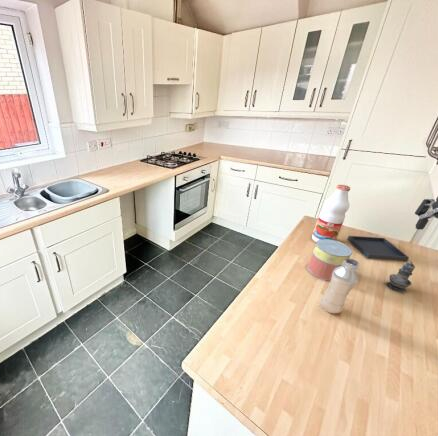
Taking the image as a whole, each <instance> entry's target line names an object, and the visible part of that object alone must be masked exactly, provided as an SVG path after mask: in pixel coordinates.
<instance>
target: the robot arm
mask: <svg viewBox="0 0 438 436" xmlns="http://www.w3.org/2000/svg"><path fill="white" fill-rule="evenodd" d="M430 208H432V210H429V209H430ZM414 215H416V216H418V218H419V219H418V220H417V222H416V223H415V229H416V230H424V229H425V227H426V225H428V222H429V219H433V218H435V219H438V196H436V198H435V199H434V198H424V199H423V200H422V201H421V203H420V204H419V206H418V207H417V209H416V210H415V212H414Z"/></svg>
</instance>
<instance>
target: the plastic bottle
mask: <svg viewBox="0 0 438 436" xmlns="http://www.w3.org/2000/svg"><path fill="white" fill-rule="evenodd" d="M359 266H360V263H359V261H357V260H356V259H353V258H347V259H345V260H344V262H343V263H342V266H339V267H337V268H336V269H335V270H334V271H333V273H332V277H331V281H330V282H329V283H328V287H327V289H326V290H325V292H324V293H323V294H322V295H321V297H320V299H319V305H320V307H321V308H322V309H323V310H324V311H325V312H327V313H330V314H332V315H333V314H335V315H336V314H339V313H341V312H343V310H344V308H345V305H346V300H347V299H348V295H349V294H350V293H351V290H352V289H353V288H355V286H356V284H357V283H358V282H359V275H358V272H357V271H358V269H359Z"/></svg>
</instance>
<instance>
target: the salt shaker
mask: <svg viewBox="0 0 438 436" xmlns="http://www.w3.org/2000/svg"><path fill="white" fill-rule="evenodd" d="M415 268H416V265H415V264H414V263H413V261H409V262H404V263H403V264H402V265H401V268H398V272H397V273H396V274H393V273H392V274H389V281H387V282H386V287H387V288H389V289H390V290H392V291H394V292H397V293H405V292H406V288H408V287H410V286H411V285H412V282H411V281H410V280H409V278H410V277H411V276H413V271H414V270H415Z"/></svg>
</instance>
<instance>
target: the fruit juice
mask: <svg viewBox="0 0 438 436" xmlns="http://www.w3.org/2000/svg"><path fill="white" fill-rule="evenodd" d="M350 191H351V186H349V185H347V184H337V185H335V190H334V192H332V194H331V195H330V196H329V197H328V198H327V199H325V201H324V202H323V208H322V209H321V211H320V213H319V214H318V217H317V221H316V223H315V226H314V229H313V230H312V231H313V232H312V234H311V239H312V240H313V241H314V242H315V243H317V241H318V240H321V239H330V240H335V241H337V238H338V236H339V233H340V231H341V228H342V226H343V224H344V222H345V218H346V213H347V212H348V210H350V209H349V208H350V202H349V192H350Z"/></svg>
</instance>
